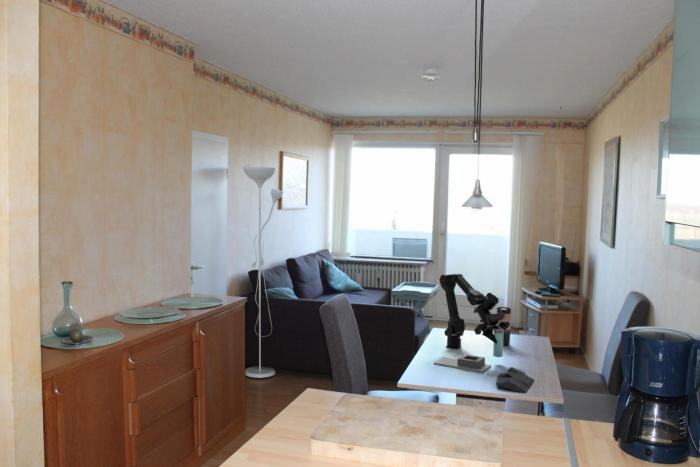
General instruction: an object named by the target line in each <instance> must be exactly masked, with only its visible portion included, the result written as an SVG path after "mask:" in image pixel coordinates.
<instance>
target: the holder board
mask: <svg viewBox="0 0 700 467" xmlns="http://www.w3.org/2000/svg"><path fill="white" fill-rule="evenodd" d="M433 364H434V365H437V366H441V367H442V366H443V367H447V366H448V367H449V368H454V369H459V370H465V371H470V372H476V373H481V374H483V373H484V372H486V371H487V370H489V369H490V368H491V367H492V365H491V364H487V363H486V358H485V356H478V355H473V354H467V353H465V354H464V353H463V354H462V355H461V356H460V357H458V358H452V357H445V356H442V357H441V358H439V359H437V360H436V361H434V362H433ZM448 367H447V368H448Z"/></svg>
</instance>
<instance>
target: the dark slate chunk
mask: <svg viewBox="0 0 700 467" xmlns="http://www.w3.org/2000/svg"><path fill="white" fill-rule="evenodd" d="M534 382H535V379H534V378H532V377H531V376H528V375H527V374H526V373H525V372H524V371H522V370H520V369H517V368H516V367H515V368H514V367H513V366H512V367H511V366H510V367H509V369H507V371H506V372H504V373H499V374H498V376H497V379H496V382H495V385H496V386H497V387H498V388H500V389H505V390H506V389H507V390H510V391H514V392H517V393H523V394H526V393H527V392H529V390H530V389H531V388H532V385H533V383H534Z"/></svg>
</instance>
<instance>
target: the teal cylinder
mask: <svg viewBox="0 0 700 467" xmlns="http://www.w3.org/2000/svg"><path fill="white" fill-rule="evenodd" d="M503 333H504V329H501V328H494V329H493V334H494V336H495V338H496V340H497V344H496V343H494V342H493V349H492V351H493V352H492V356H493V357H495V358H502V357H503V356H504V355H503V351H504V346H503Z"/></svg>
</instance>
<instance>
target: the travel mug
mask: <svg viewBox="0 0 700 467" xmlns="http://www.w3.org/2000/svg"><path fill="white" fill-rule="evenodd" d="M498 312H503V313H504V315H505V318H503V320H499V323H497V325H499V324H500V323H501V322H502V321H508V322H509V324H510V326H509V327H508V328H507V329H506V330H505V331H504V339H505V342H504V343H503V347H508V346H510V345H511V344H510V341H511V329H512V328H511V327H512V326H511V324H512V319H511V318H512V308H510V307H505V306H500V307H499V306H498V307H497V308H496V313H498Z"/></svg>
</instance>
